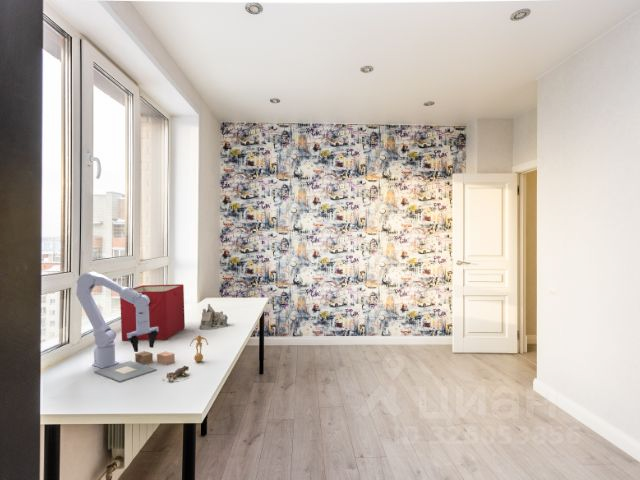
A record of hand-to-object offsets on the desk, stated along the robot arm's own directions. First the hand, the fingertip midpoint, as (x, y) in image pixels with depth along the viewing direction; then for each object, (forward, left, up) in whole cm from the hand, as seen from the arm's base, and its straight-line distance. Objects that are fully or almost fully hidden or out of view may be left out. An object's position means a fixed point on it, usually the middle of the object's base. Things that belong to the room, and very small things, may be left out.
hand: (143, 349), depth 179 cm
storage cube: (-43, +32, -6) cm, 54 cm away
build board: (+6, -12, -6) cm, 15 cm away
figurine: (+23, +14, -6) cm, 27 cm away
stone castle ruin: (-27, +63, -6) cm, 68 cm away
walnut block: (0, 0, -6) cm, 6 cm away
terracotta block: (+10, +5, -6) cm, 13 cm away
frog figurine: (+32, -4, -6) cm, 33 cm away
